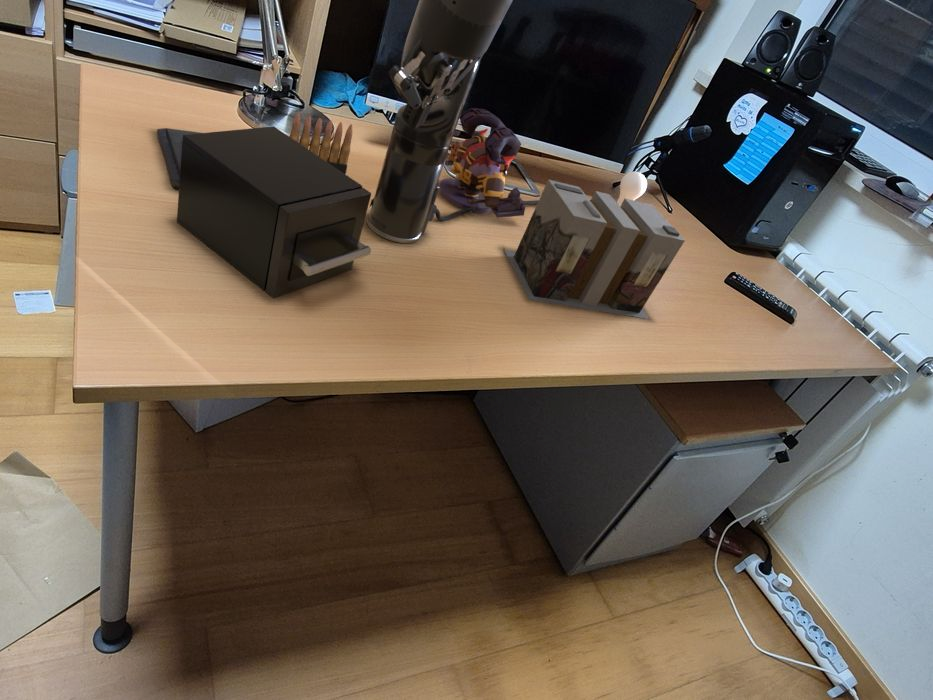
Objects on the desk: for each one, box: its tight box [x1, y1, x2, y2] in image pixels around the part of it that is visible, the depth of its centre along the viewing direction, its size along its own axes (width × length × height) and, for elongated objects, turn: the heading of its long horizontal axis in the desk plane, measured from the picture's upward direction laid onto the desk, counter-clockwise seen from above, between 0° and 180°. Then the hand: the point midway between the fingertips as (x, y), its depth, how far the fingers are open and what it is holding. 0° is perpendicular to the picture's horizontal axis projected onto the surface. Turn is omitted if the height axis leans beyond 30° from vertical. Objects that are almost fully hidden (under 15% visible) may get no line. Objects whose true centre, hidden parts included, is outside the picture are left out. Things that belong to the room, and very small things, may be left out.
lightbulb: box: [616, 171, 648, 206], centre depth 147 cm, size 6×6×11 cm
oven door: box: [265, 187, 372, 299], centre depth 82 cm, size 5×15×13 cm, turn 145°
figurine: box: [438, 107, 526, 218], centre depth 122 cm, size 20×14×17 cm
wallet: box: [156, 127, 200, 191], centre depth 102 cm, size 20×2×15 cm
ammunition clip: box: [288, 112, 353, 175], centre depth 105 cm, size 11×2×12 cm, turn 111°
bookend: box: [503, 179, 686, 320], centre depth 109 cm, size 16×25×16 cm, turn 104°
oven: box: [176, 126, 364, 292], centre depth 86 cm, size 18×15×13 cm
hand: (411, 121), depth 72 cm, fingers closed
